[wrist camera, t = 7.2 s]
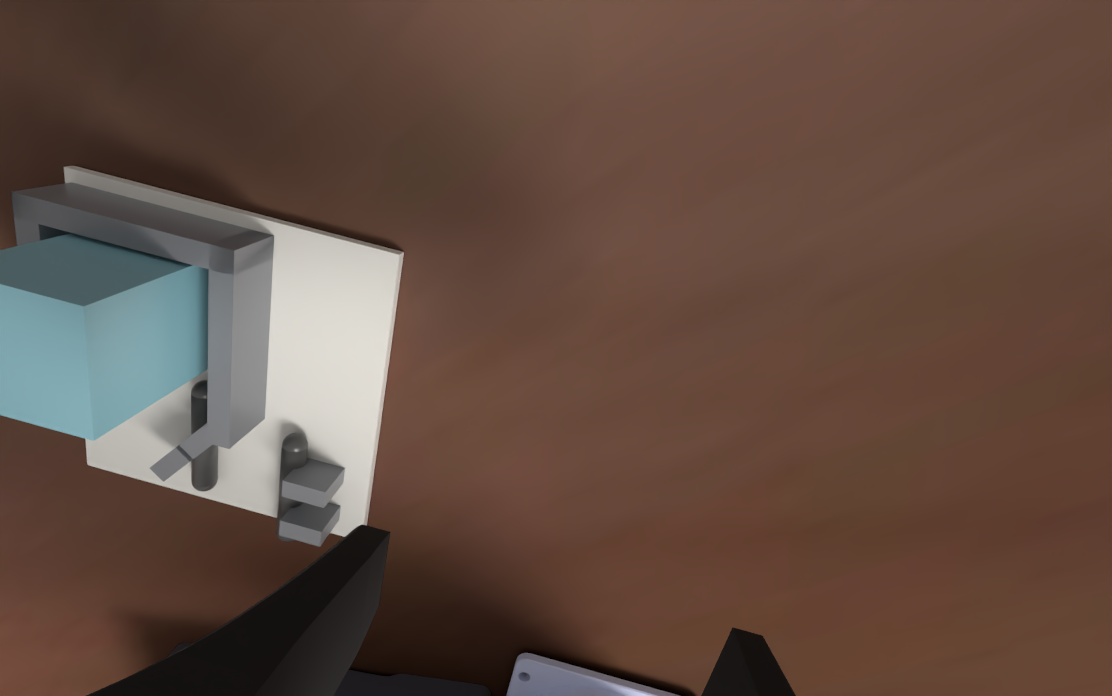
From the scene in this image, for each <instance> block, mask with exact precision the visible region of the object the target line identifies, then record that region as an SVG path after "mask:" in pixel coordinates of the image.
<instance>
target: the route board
mask: <svg viewBox="0 0 1112 696" xmlns="http://www.w3.org/2000/svg"><path fill="white" fill-rule="evenodd" d="M64 176H65V183H70V182H73V183H77V184H80V185H84V186H88V187H92V188H96V189H99V190H103V191H107V192H111V193H115V194H118V195H122V196H126V197H130V198H134V199H137V200H141V201H145V202H149V203H153V204H156V205H160V206H164V207H168V208H172V209H175V210H179V211H183V212H187V213H191V214H195V215H198V216H202V217H206V218H210V219H214V220H217V221H221V222H225V223H229V224H233V225H236V226H240V227H244V228H248V229H252V230H255V231H259V232H263V233H267V234H271V235H274V252H273V271H272V291H271V310H270V330H269V349H268V369H267V388H266V407H265V419H264V420H263V421H262V422H261V423H259V424H258V425H257V426H256V427H255V428H253V429H252V430H251V431H250V432H249V433H248V434H246V435H245V436H244V437H243V438H242V439H241V440H239V441H238V442H237V443H236V444H235V445H234V446H232V447H231V448H230V449H227V448H223V447H220V446H216V445H212V444H209V443H207V392H208V370H206V371H204V372H203V373H201V374H200V375H198V376H196V377H195V378H193V379H192V380H190V381H188V382H187V383H185V384H184V385H182V386H181V387H179V388H177V389H176V390H174V391H173V392H171V393H169V394H168V395H166V396H165V397H163V398H161V399H160V400H158V401H157V402H155V403H153V404H152V405H150V406H149V407H147V408H146V409H144V410H142V411H141V412H139V413H138V414H136V415H134V416H133V417H131V418H130V419H128V420H126V421H125V422H123V423H122V424H120V425H118V426H117V427H115V428H114V429H112V430H110V431H109V432H107V433H106V434H104V435H103V436H101V437H99V438H98V439H96V440H95V441H92V440H89V439H85V440H86V453H87V465H89V466H93V467H96V468H100V469H103V470H107V471H111V472H114V473H118V474H121V475H125V476H128V477H132V478H136V479H139V480H143V481H146V482H150V483H154V484H157V485H161V486H164V487H168V488H171V489H175V490H179V491H182V492H186V493H189V494H193V495H197V496H200V497H204V498H207V499H211V500H214V501H218V502H222V503H225V504H229V505H232V506H236V507H239V508H243V509H247V510H250V511H254V512H257V513H261V514H265V515H268V516H272V517H275V518H277V526H276V534H277V536H278V538H279V539H280V540H282V541H284V542H291V541H293V540H298V541H301V542H305V543H308V544H312V545H315V546H319V547H320V546H321V545H322V543H323V542H324V540H325V539H326V538H327V536H328V535H329V533H333V534H336V535H340V536H343V537H345V536H347V535H348V534H349V533H350V532H351V531H352V530H354V529H355V528H356V527H358V526H360V525H362V524H363V525H366V526H367V521H368V514H369V506H370V499H371V491H372V484H373V477H374V469H375V462H376V455H377V447H378V440H379V432H380V425H381V418H382V410H383V403H384V396H385V388H386V381H387V373H388V366H389V359H390V351H391V344H392V337H393V329H394V322H395V314H396V307H397V300H398V292H399V285H400V278H401V270H402V263H403V255H404V252H402V251H398V250H394V249H390V248H387V247H383V246H379V245H375V244H371V243H368V242H364V241H360V240H356V239H352V238H348V237H345V236H341V235H337V234H333V233H329V232H326V231H322V230H318V229H314V228H310V227H306V226H303V225H299V224H295V223H291V222H287V221H284V220H280V219H276V218H272V217H268V216H264V215H261V214H257V213H253V212H249V211H245V210H242V209H238V208H234V207H230V206H226V205H222V204H219V203H215V202H211V201H207V200H203V199H199V198H196V197H192V196H188V195H184V194H180V193H177V192H173V191H169V190H165V189H161V188H157V187H154V186H150V185H146V184H142V183H138V182H135V181H131V180H127V179H123V178H119V177H115V176H112V175H108V174H104V173H100V172H96V171H93V170H89V169H85V168H81V167H77V166H67V167H64Z"/></svg>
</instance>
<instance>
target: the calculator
mask: <svg viewBox="0 0 1112 696" xmlns="http://www.w3.org/2000/svg"><path fill="white" fill-rule="evenodd" d="M189 645H191V644H189V643H180V644H179V645H178V646H177V647H176V648H175V649H174V650H173V651H172V652H171V653H170V654H169V655H168V656H170V655H172V654H174V653H176V652H178V651H180V650H182V649H183V648H185V647H187V646H189ZM333 696H491V692H490V690H489V689H488V688H487V687H486V686H483V685H479V684H473V683H466V682H459V681H451V680H444V679H437V678H430V677H423V676H416V675H409V674H401V673H400V674H396V675H392V676H387V677H386V676H380V675H375V674H369V673H364V672H359V671H353V670H348V671H347V673H346V675H345V676H344V678H343V680H342V682H341V683H340V685H339V687H338V688H337V690H336V692H335V694H334V695H333Z"/></svg>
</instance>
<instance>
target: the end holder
mask: <svg viewBox="0 0 1112 696" xmlns="http://www.w3.org/2000/svg"><path fill="white" fill-rule="evenodd" d="M11 196H12V205H13V214H14V223H15V231H16V240H17V246H20V245H24V244H29V243H33V242H37V241H41V240H45V239H49V238H53V237H57V236H62V235H66V234H70V233H74V234H78V235H82V236H85V237H89V238H93V239H97V240H100V241H104V242H108V243H112V244H116V245H119V246H123V247H127V248H131V249H134V250H138V251H142V252H146V253H149V254H153V255H157V256H161V257H164V258H168V259H172V260H176V261H179V262H183V263H187V264H191V265H195V266H198V267H202V268H206V269H209V288H208V392H207V443H209V444H212V445H216V446H220V447H223V448H227V449H230V448H231V447H232V446H234V445H235V444H236V443H237V442H238V441H239V440H241V439H242V438H243V437H244V436H245V435H246V434H248V433H249V432H250V431H251V430H252V429H253V428H255V427H256V426H257V425H258V424H259V423H261V422H262V421H263V420H264V419H265V407H266V388H267V369H268V349H269V330H270V310H271V291H272V271H273V252H274V235H271V234H267V233H263V232H259V231H255V230H252V229H248V228H244V227H240V226H236V225H233V224H229V223H225V222H221V221H217V220H214V219H210V218H206V217H202V216H198V215H195V214H191V213H187V212H183V211H179V210H175V209H172V208H168V207H164V206H160V205H156V204H153V203H149V202H145V201H141V200H137V199H134V198H130V197H126V196H122V195H118V194H115V193H111V192H107V191H103V190H99V189H96V188H92V187H88V186H84V185H80V184H77V183H73V182H70V183H64V184H57V185H51V186H44V187H38V188H31V189H25V190H18V191H12V192H11Z"/></svg>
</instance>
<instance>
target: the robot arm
mask: <svg viewBox="0 0 1112 696" xmlns="http://www.w3.org/2000/svg"><path fill="white" fill-rule="evenodd" d="M389 537H390V532H388V531H384V530H381V529H377V528H373V527H370V526H366V525H363V524H362V525H360V526H358V527H356V528H355V529H354V530H352V531H351V532H350V533H349V534H348V535H347V536H345V537H344V538H343V539H342V540H341V541H339V542H338V543H337V544H336V545H335V546H333V547H332V548H331V549H330V550H328V551H327V552H326V553H325V554H323V555H322V556H321V557H320V558H318V559H317V560H316V561H315V562H313V563H312V564H311V565H310V566H308V567H307V568H306V569H304V570H303V571H302V572H300V573H299V574H298V575H296V576H295V577H294V578H292V579H291V580H289V581H288V582H287V583H285V584H284V585H283V586H281V587H280V588H279V589H277V590H276V591H274V592H273V593H272V594H270V595H269V596H267V597H266V598H264V599H263V600H261V601H260V602H258V603H257V604H255V605H254V606H252V607H251V608H249V609H248V610H246V611H245V612H243V613H242V614H240V615H239V616H237V617H236V618H234V619H233V620H231V621H229V622H228V623H226V624H225V625H223V626H221V627H220V628H218V629H216V630H215V631H213V632H211V633H210V634H208V635H206V636H205V637H203V638H201V639H199V640H198V641H196V642H194V643H192V644H191V645H189V646H187V647H185V648H183V649H182V650H180V651H178V652H176V653H174V654H172V655H170V656H168V657H166V658H164V659H163V660H161V661H159V662H157V663H155V664H153V665H151V666H149V667H147V668H145V669H143V670H141V671H139V672H137V673H135V674H133V675H131V676H129V677H127V678H125V679H123V680H120V681H118V682H116V683H114V684H112V685H109V686H107V687H105V688H102V689H100V690H98V691H96V692H93V693H91V694H89V695H86V696H333V695H334V694H335V692H336V690H337V688H338V687H339V685H340V683H341V682H342V680H343V678H344V676H345V675H346V673H347V671H348V669H349V668H350V666H351V664H352V662H353V661H354V659H355V657H356V655H357V654H358V651H359V649H360V647H361V645H362V643H363V640H364V638H365V636H366V634H367V632H368V629H369V627H370V625H371V623H372V620H373V618H374V616H375V613H376V611H377V609H378V607H379V601H380V595H381V588H382V582H383V575H384V569H385V562H386V556H387V549H388V543H389ZM523 672H524V673H523ZM525 673H527V674H525ZM506 696H680V695H676V694H673V693H669V692H666V691H662V690H658V689H655V688H651V687H648V686H644V685H641V684H637V683H634V682H630V681H627V680H623V679H620V678H616V677H613V676H609V675H605V674H602V673H598V672H595V671H591V670H588V669H584V668H581V667H577V666H574V665H570V664H567V663H563V662H560V661H556V660H552V659H549V658H545V657H542V656H538V655H535V654H531V653H522V654H520V655H519V656H518V657H517V659H516V663H515V666H514V670H513V673H512V677H511V680H510V684H509V687H508V691H507V694H506ZM702 696H796V695H795V694H794V692H793V690H792V688H791V686H790V685H789V683H788V681H787V679H786V677H785V676H784V674H783V672H782V670H781V668H780V666H779V665H778V663H777V661H776V659H775V657H774V656H773V654H772V652H771V650H770V648H769V647H768V645H767V643H766V641H765V639H764V638H763V636H761V635H758V634H754V633H751V632H747V631H743V630H740V629H736V628H732V630H731V632H730V635H729V637H728V639H727V641H726V643H725V645H724V648H723V650H722V652H721V654H720V656H719V659H718V661H717V663H716V665H715V667H714V669H713V672H712V674H711V676H710V678H709V680H708V683H707V685H706V687H705V689H704V691H703V693H702Z"/></svg>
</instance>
